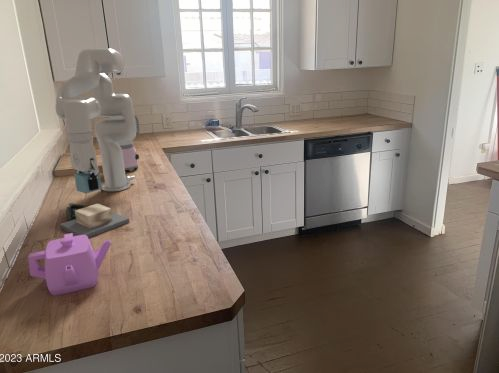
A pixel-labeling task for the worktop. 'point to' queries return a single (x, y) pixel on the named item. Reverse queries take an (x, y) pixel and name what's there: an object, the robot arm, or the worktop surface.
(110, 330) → the worktop surface
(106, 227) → the stacking base
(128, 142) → the blender
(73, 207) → the chocolate cake
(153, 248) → the worktop surface
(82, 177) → the teal block
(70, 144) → the robot arm
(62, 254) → the teakettle
